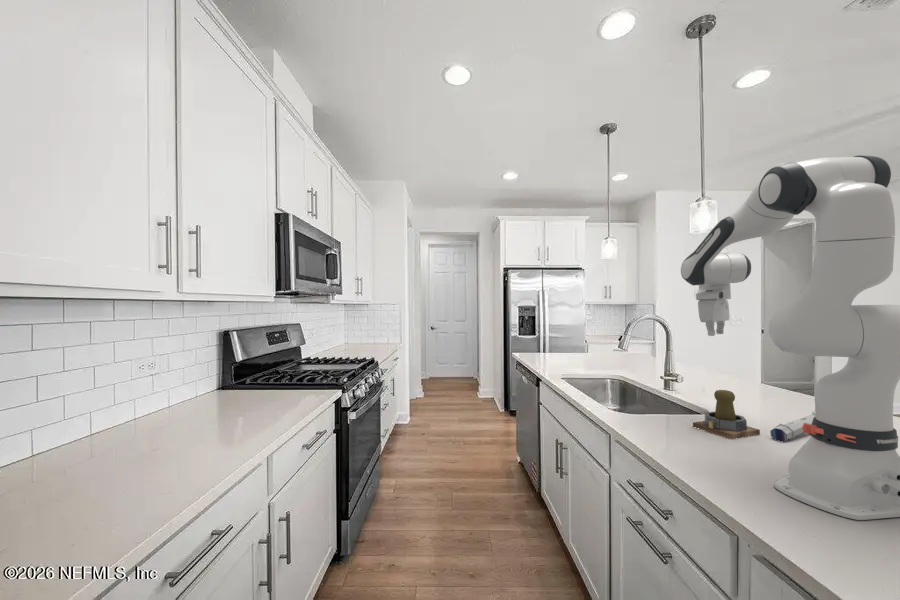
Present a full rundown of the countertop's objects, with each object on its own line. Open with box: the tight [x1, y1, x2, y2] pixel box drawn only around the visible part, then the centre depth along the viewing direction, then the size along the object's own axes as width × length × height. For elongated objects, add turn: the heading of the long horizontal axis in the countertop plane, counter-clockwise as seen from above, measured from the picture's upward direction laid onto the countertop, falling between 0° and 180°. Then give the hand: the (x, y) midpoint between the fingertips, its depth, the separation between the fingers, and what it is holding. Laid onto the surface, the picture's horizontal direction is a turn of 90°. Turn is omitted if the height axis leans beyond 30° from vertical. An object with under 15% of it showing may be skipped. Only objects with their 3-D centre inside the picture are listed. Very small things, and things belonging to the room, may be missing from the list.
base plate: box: [692, 420, 761, 440], centre depth 115 cm, size 12×12×2 cm
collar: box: [704, 411, 748, 432], centre depth 115 cm, size 11×10×3 cm
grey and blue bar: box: [769, 409, 815, 443], centre depth 110 cm, size 5×7×25 cm
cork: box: [713, 389, 737, 421], centre depth 115 cm, size 6×6×11 cm
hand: (715, 334), depth 125 cm, fingers open, 8 cm apart
